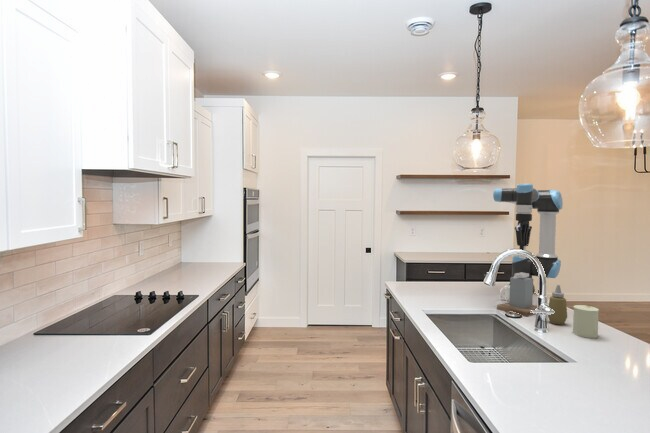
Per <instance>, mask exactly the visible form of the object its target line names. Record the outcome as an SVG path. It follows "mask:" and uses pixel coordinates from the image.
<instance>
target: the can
mask: <svg viewBox="0 0 650 433" xmlns="http://www.w3.org/2000/svg"><path fill="white" fill-rule="evenodd" d="M599 312H600V309H599V308H597V307H594V306H590V305H583V304H575V305H573V318H572V319H573V322H572V334H574V335H576V336H578V337H582V338H583V337H584V338H589V339H595V338H598V337H599V315H600V314H599Z"/></svg>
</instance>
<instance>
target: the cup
mask: <svg viewBox="0 0 650 433" xmlns="http://www.w3.org/2000/svg"><path fill="white" fill-rule="evenodd" d="M503 290H504V294H505V298H506V299H505V298H504V297H502V291H503ZM499 297H500V298H501V299H503V300H504V301H506V302H507V301H510V285H509V284H507V285H504V287H502V288H500V290H499Z"/></svg>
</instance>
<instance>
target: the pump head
mask: <svg viewBox="0 0 650 433" xmlns="http://www.w3.org/2000/svg"><path fill="white" fill-rule="evenodd" d="M524 277H529V273H523V272H521V273H515V276H514V278H515V279H516V278H522V279H523V278H524Z"/></svg>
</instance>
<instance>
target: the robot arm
mask: <svg viewBox="0 0 650 433" xmlns="http://www.w3.org/2000/svg"><path fill="white" fill-rule="evenodd" d="M493 201H494V202H498V203H509V204H515V205H516V206H515V221H518V222H517V226H515V227H514V230H515V236H516V238H515V239H516V245H517V246H519V249H522V250H526V251H527V247H529V244H530V237H531V232H532V229H533V227H532V226H531V225H530V222H532V220H533V214H532V213H533V210H537V211H536V212H537V213H538V215H539V234H538V235H539V237H538V238H539V239H538V240H539V241H538V242H539V244H538V253H536V255H535V258H536V257H537V258H538V259H539V261H540V262H541V264H542V266H543V268H544V271H545V274H546V277H545V278H546V279H556V278H557V277H558V276H559V273H560V270H561V265H562V264H561V260H560V259H558V258H559V257H558V255H557V254H556V231H557V229H556V226H557V215H558V214H559V213H560V210H562V209H563V204H564V203H563V197H562V194H561V192H560V190H557V189H542V190H541V189H540V190H539V189H536V188H534V185H533V183H518V184H517V185H516V188H509V187H508V188H506V187H505V188H501V187H500V188H495V189H494V190H493ZM511 264H512V265H511V267H512V268H511V277H514V276H515V273H521V272H523V273H529V277H527V278H532V279H533V277H539V276H538V272H537V269H536V267H535V265H534V264H533V262H532V261H531V260H530V259H529V258H527V257H525V256H522V255H519V254H515V255H514V256H512V262H511ZM508 285H510V283H509V284H508ZM535 292H536V289H535V284H534V283H533V294H534V293H535Z"/></svg>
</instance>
